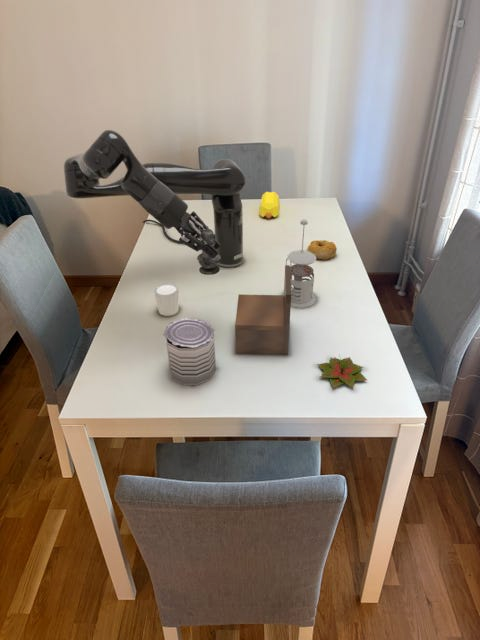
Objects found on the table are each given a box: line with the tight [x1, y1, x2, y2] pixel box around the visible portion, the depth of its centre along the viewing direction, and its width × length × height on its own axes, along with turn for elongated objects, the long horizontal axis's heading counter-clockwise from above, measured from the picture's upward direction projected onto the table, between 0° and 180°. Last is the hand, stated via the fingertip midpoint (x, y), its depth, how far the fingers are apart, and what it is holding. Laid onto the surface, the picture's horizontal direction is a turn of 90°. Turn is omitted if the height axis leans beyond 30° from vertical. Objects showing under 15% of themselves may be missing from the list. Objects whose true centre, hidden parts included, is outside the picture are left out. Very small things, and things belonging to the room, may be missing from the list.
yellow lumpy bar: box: [258, 191, 280, 219], centre depth 196 cm, size 18×7×8 cm
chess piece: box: [196, 225, 221, 276], centre depth 120 cm, size 6×6×12 cm
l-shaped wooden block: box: [234, 264, 292, 356], centre depth 123 cm, size 13×14×18 cm
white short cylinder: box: [153, 283, 180, 317], centre depth 138 cm, size 7×7×7 cm
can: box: [162, 317, 217, 386], centre depth 115 cm, size 11×11×12 cm
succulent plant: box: [316, 354, 368, 389], centre depth 115 cm, size 12×12×5 cm
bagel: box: [306, 239, 338, 261], centre depth 166 cm, size 10×11×5 cm
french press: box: [285, 218, 317, 309], centre depth 138 cm, size 10×12×25 cm
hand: (216, 251), depth 121 cm, fingers closed on chess piece, 3 cm apart
